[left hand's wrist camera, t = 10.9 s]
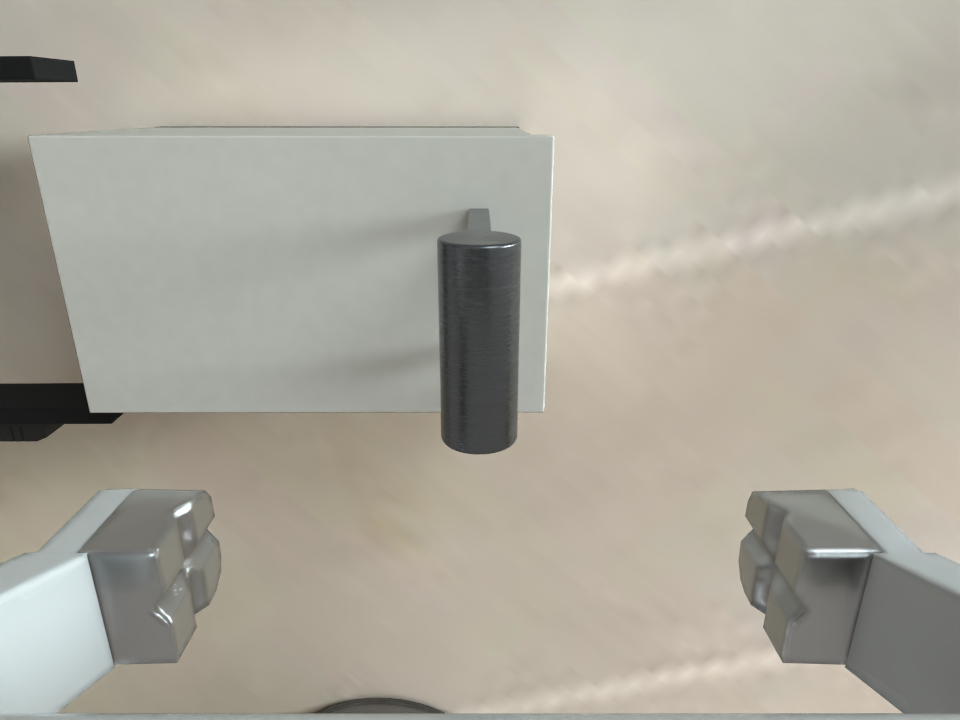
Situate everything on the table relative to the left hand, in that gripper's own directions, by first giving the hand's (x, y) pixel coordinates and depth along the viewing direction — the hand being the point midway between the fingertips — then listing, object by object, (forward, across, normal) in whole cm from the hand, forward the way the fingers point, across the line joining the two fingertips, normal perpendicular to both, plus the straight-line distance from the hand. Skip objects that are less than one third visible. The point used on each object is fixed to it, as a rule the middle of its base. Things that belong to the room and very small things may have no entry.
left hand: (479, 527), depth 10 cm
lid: (+16, -6, 0) cm, 17 cm away
